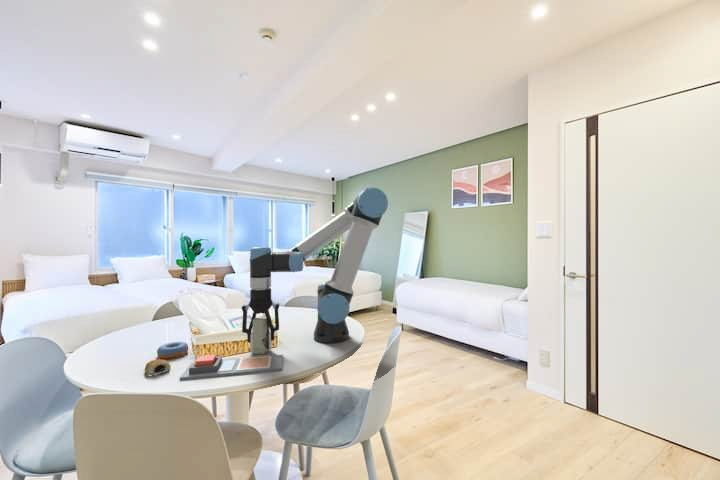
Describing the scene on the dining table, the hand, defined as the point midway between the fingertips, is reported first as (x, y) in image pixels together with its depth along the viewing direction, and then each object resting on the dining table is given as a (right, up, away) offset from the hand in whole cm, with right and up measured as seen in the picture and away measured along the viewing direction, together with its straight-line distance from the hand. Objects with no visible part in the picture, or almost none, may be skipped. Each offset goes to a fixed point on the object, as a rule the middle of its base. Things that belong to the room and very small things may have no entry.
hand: (261, 349), depth 118 cm
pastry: (-29, -2, -17) cm, 33 cm away
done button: (-13, +1, -16) cm, 21 cm away
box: (0, -1, 0) cm, 1 cm away
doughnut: (-32, -2, -2) cm, 32 cm away
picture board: (-4, -1, -14) cm, 15 cm away
